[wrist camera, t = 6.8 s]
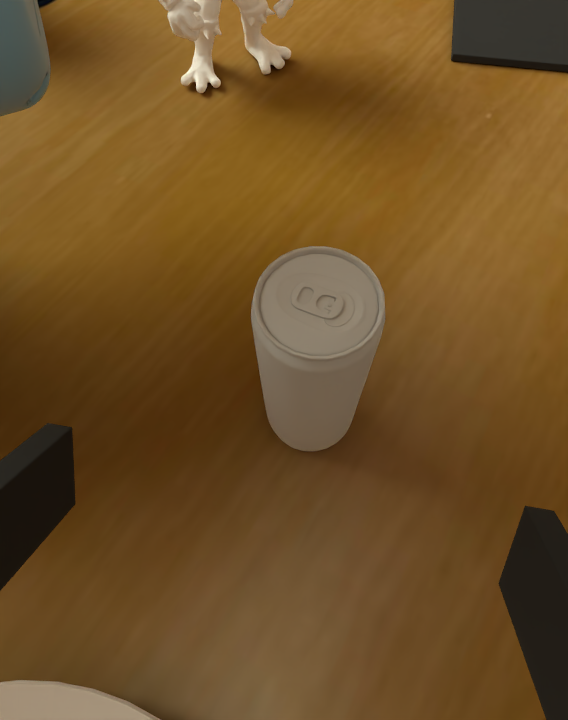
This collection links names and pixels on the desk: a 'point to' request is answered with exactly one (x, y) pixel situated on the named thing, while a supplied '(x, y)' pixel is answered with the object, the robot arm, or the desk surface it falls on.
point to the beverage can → (315, 342)
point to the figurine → (201, 24)
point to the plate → (63, 703)
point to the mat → (512, 33)
